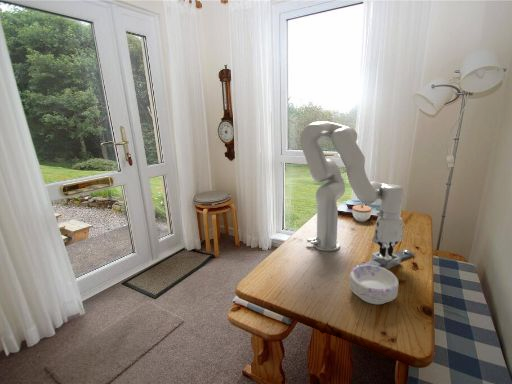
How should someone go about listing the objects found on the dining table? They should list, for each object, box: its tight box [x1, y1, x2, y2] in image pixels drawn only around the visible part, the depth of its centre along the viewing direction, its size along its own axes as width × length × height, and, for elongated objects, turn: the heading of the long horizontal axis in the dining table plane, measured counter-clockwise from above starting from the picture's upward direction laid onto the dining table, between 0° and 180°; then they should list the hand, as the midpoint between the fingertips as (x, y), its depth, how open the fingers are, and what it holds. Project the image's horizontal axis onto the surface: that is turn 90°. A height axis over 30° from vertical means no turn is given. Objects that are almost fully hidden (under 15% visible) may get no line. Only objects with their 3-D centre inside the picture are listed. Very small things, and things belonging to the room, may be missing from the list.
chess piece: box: [379, 242, 392, 261], centre depth 109 cm, size 5×5×10 cm
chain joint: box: [354, 248, 416, 270], centre depth 110 cm, size 30×8×3 cm, turn 113°
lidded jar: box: [352, 204, 373, 223], centre depth 155 cm, size 11×11×9 cm
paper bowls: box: [349, 265, 400, 305], centre depth 89 cm, size 15×15×8 cm
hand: (385, 254), depth 109 cm, fingers closed on chess piece
